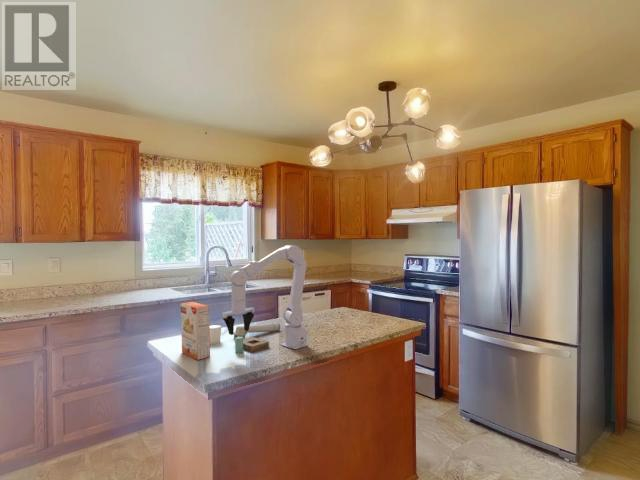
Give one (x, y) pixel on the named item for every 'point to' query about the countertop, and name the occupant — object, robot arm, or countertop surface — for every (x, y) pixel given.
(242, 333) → the cream knobbed rod
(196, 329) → the cracker box
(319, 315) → the countertop surface
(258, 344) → the socket board
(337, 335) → the countertop surface
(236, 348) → the peg
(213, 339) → the white cup
